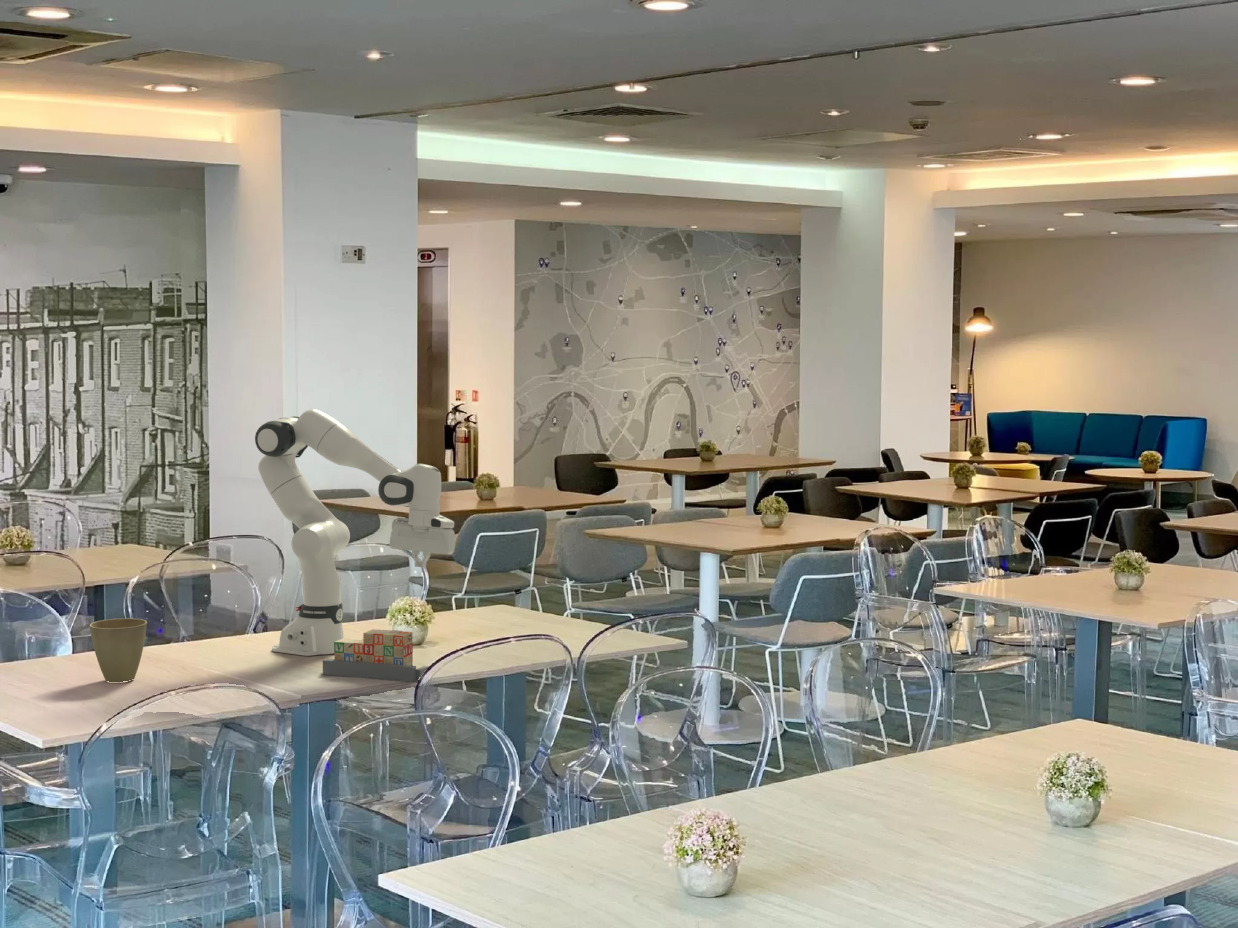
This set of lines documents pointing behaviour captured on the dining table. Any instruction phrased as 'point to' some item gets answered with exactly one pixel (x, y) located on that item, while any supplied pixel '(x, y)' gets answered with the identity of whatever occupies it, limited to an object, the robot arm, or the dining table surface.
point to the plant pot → (118, 647)
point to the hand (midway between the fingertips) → (420, 567)
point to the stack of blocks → (377, 647)
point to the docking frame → (372, 670)
